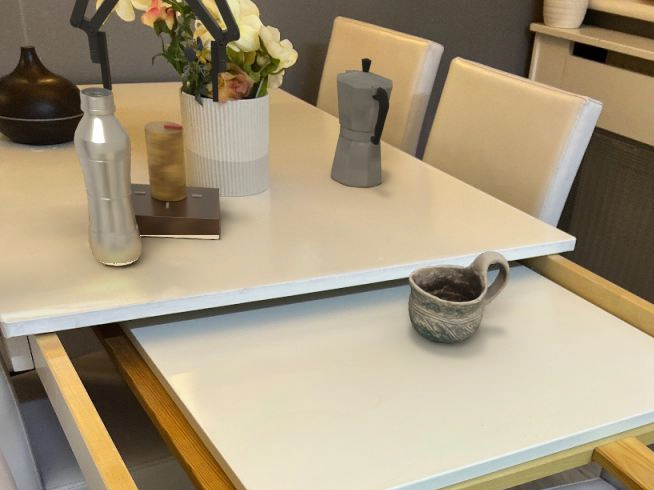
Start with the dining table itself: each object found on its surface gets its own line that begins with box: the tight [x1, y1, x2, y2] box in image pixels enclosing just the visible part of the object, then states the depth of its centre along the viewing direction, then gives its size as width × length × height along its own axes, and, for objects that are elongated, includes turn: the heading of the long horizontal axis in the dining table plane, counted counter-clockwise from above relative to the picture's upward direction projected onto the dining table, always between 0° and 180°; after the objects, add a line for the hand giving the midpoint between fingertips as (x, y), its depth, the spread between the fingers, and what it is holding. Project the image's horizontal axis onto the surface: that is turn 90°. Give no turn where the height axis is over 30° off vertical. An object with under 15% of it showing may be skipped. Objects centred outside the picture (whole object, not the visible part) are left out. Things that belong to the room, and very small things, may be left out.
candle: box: [144, 120, 187, 201], centre depth 108 cm, size 5×5×9 cm
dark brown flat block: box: [131, 182, 221, 236], centre depth 111 cm, size 14×12×3 cm
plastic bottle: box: [73, 86, 143, 264], centre depth 94 cm, size 6×7×20 cm
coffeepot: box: [330, 57, 394, 189], centre depth 125 cm, size 15×9×18 cm, turn 24°
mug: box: [407, 250, 511, 344], centre depth 94 cm, size 10×12×10 cm
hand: (162, 95), depth 102 cm, fingers open, 13 cm apart
